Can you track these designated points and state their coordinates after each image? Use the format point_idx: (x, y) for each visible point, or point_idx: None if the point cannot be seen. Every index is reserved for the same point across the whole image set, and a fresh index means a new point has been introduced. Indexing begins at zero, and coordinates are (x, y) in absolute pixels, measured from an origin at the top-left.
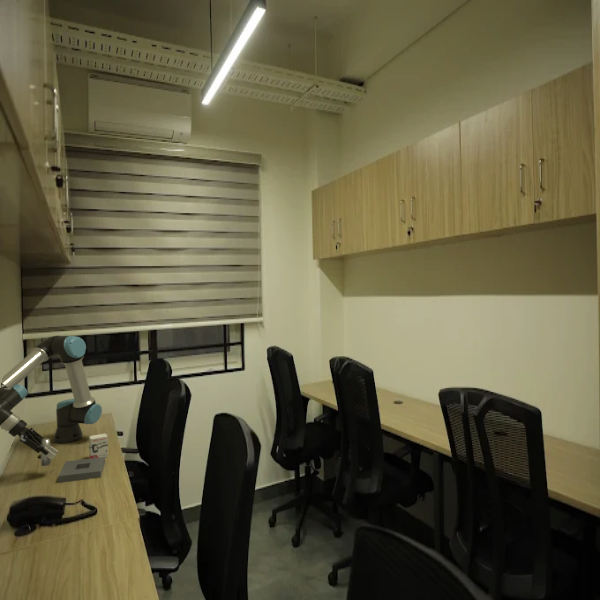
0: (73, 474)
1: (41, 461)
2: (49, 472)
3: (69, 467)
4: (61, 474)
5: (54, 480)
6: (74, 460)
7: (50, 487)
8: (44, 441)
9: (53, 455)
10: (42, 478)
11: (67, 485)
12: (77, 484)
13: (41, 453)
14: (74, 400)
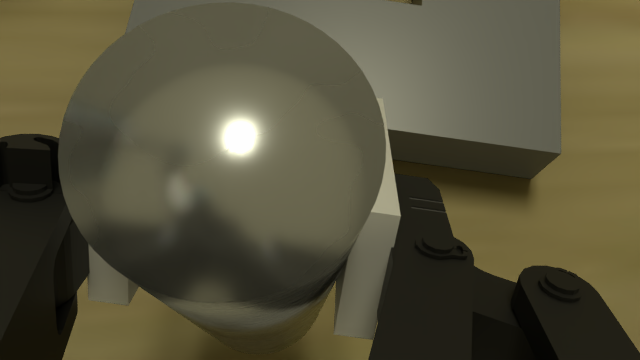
0: (559, 18)
1: (289, 342)
2: None
3: None
4: (522, 123)
5: (458, 216)
6: (136, 8)
7: (628, 242)
8: (382, 163)
9: None
10: (347, 343)
11: (625, 100)
12: (627, 27)
13: (300, 324)
14: None
